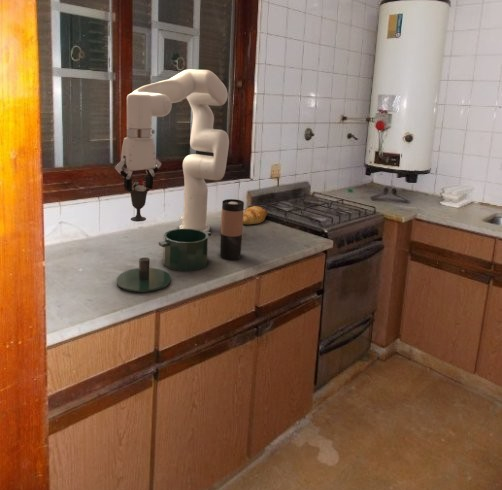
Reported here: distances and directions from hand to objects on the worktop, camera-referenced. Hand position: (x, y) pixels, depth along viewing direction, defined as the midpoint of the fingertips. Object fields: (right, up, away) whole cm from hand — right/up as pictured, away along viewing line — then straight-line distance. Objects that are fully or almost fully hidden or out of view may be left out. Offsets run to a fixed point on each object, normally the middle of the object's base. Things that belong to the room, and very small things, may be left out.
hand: (138, 188), depth 140 cm
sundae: (-1, -10, +2) cm, 10 cm away
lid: (+4, -27, -9) cm, 29 cm away
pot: (+14, -25, +8) cm, 30 cm away
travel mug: (+28, -25, +16) cm, 41 cm away
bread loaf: (+37, -17, +61) cm, 73 cm away
